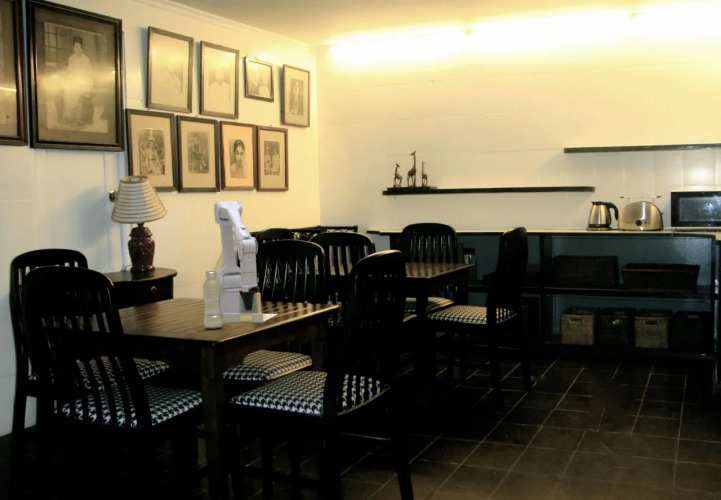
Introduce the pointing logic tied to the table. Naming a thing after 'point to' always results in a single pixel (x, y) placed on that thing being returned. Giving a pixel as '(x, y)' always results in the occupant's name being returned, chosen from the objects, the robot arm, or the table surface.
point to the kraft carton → (255, 306)
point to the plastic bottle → (212, 301)
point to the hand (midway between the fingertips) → (250, 308)
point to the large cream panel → (246, 317)
